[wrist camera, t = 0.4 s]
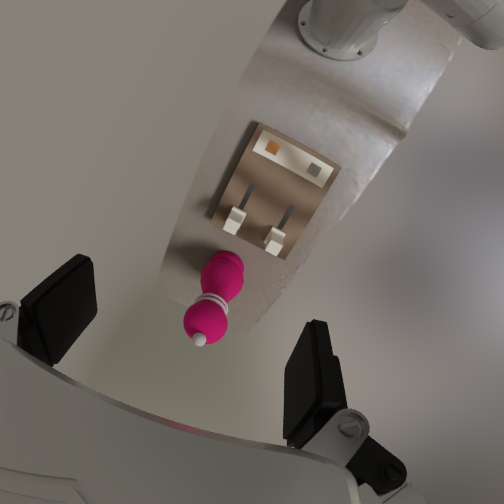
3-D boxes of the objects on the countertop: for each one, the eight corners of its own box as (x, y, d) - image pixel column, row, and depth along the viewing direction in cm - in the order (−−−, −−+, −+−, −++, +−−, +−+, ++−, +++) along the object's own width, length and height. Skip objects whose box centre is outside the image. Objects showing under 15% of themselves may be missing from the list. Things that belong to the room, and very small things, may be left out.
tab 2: (272, 225, 44) (271, 236, 40) (285, 232, 44) (286, 243, 40) (264, 240, 45) (262, 252, 41) (277, 247, 45) (276, 259, 42)
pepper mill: (210, 244, 48) (170, 315, 31) (250, 253, 48) (230, 331, 31) (205, 277, 52) (170, 354, 34) (242, 287, 52) (222, 368, 34)
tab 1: (233, 205, 43) (228, 214, 39) (247, 212, 43) (243, 221, 40) (225, 221, 44) (220, 231, 41) (238, 228, 45) (234, 238, 41)
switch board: (260, 122, 38) (259, 122, 37) (339, 166, 40) (341, 168, 39) (212, 219, 46) (209, 222, 45) (284, 256, 48) (284, 260, 46)
